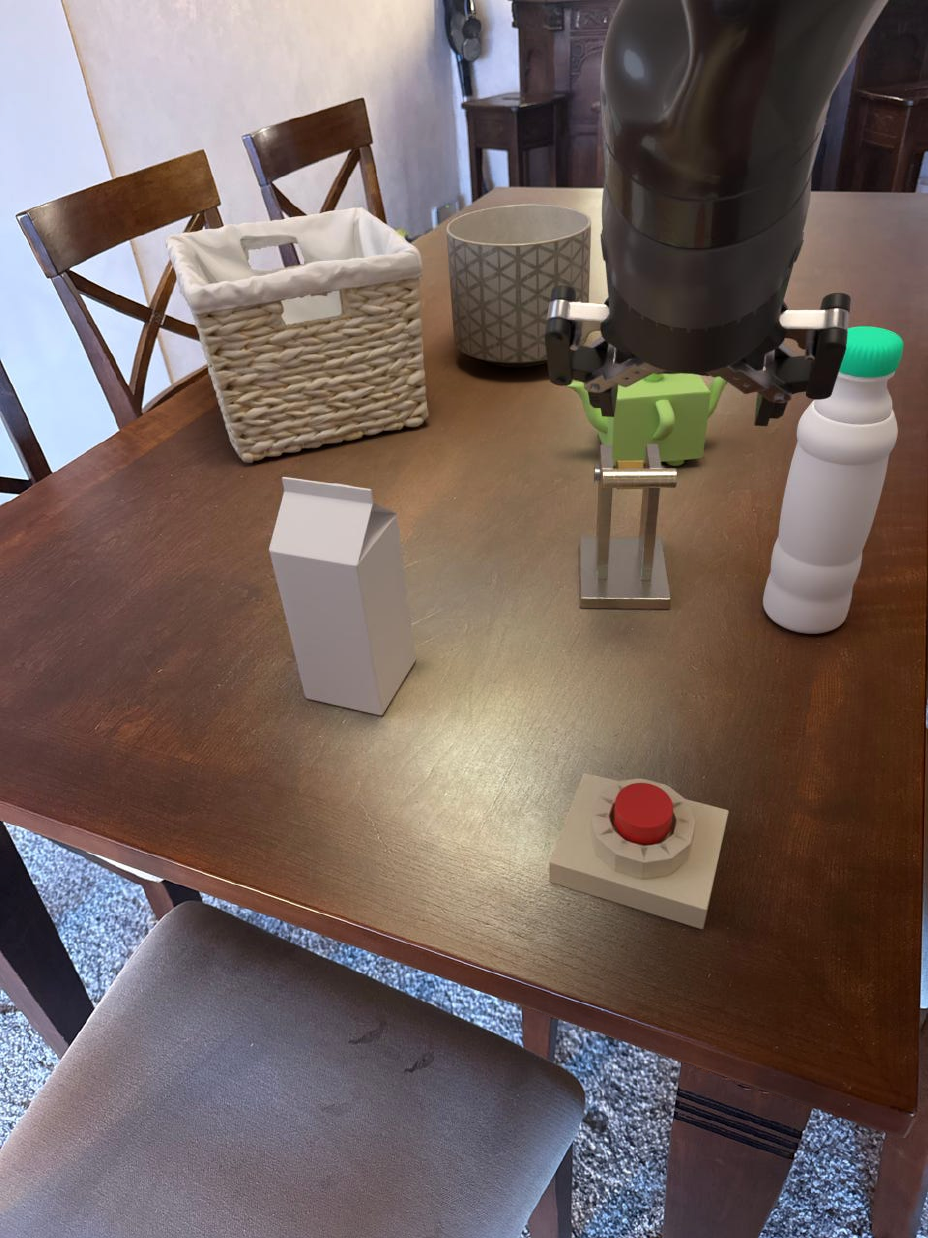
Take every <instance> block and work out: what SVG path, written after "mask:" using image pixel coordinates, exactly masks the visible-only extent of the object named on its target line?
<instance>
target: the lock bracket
mask: <svg viewBox="0 0 928 1238" xmlns="http://www.w3.org/2000/svg"><path fill="white" fill-rule="evenodd" d="M603 469H614V466H613V456H612V445H603V444H600V445H599V465H598V466H594V468H593V483H594V484H598V485H597V488H598V489H597V509H596V510H597V512H596V530H595V531H596V535H595V536H580V537H579V542H578V544H579V545H578V550H579V553H578V555H579V557H578V558H579V600H580V601H579V607H580V609H613V610H615V609H617V610H618V609H621V610H623V609H624V610H627V609H628V610H629V609H630V610H670V609H671V601H672V599H671V598H672V597H671V592H670V585H669V584H670V583H669V579H668V578H669V577H668V571H667V563H666V557H665V552H664V551H665V550H664V544H663V538H662V536H656V535H657V526H658V525H657V524H658V516H659V504H660V494H661V488H643V489H642V493H641V494H642V495H641V505H640V507H641V508H640V517H639V518H640V519H639V530H638V536H611V526H612V525H611V521H612V505H613V488H602V470H603ZM643 469H666V466H664V465H662V462H661V460H660V454H659V448H658V444H647V445H646V455H645V463H644V467H643Z"/></svg>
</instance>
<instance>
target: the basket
mask: <svg viewBox="0 0 928 1238" xmlns="http://www.w3.org/2000/svg"><path fill="white" fill-rule="evenodd" d="M286 244H287V245H288V244H297V245H298V247H299V250H300V253H301V255H302V257H303V259H304V261H303V262H304V263H301V264H294V265H289V266H287V267H279V268H275V269H274V268H273V269H261V270H260V269H253V268H252V266H251V264H250V263H249V259H250V253H249V251H250V250H251V251H253V250H261V249H265V248H269V247H270V248H271V247H277V246H283V245H286ZM165 247H166V250H167V255H168V259H169V261H170V262H171V264H172V268H173V270H174V273H175V278H176V282H177V285H178V287H179V293H180V295H182V297H183V298H184V300H185V301H186V305H187V306H188V307H189V309H190V312H191V315H192V317H193V321H194V326H195V328H196V329H197V334H198V335H199V341H200V344H201V349H202V351H203V355H204V358H205V361H206V365H207V371H208V375H209V376H210V379H211V382H212V386H213V389H214V391H215V396H216V399H217V402H218V406H219V408H220V413H221V414H222V418H223V421H224V426H225V429H226V431H227V434H228V437H229V442H230V444H231V446H232V447H233V448H234V451H235V453H236V454H237V455H238V457H239V458H240V460H242V461H243V463H246V464H252V463H253V462H257V461H260V460H263V459H264V458H265V457H280V456H281V455H282V454H283V453H298V452H301V451H302V449H318V448H320V447H321V446H322V445H325V444H338V443H342V442H343V441H347V442H348V441H354V440H357V439H361V438H362V437H363V436H364V435H365V436H372V435H377V434H379V433H382V432H383V431H384V432H387V431H396V430H397V431H400V430H402V429H403V428H404V426H405V427H406V428H416V427H419V426H421V425H423V424H424V422H425V421H426V420H427V418H429V417H430V412H429V408H428V401H427V388H426V385H425V384H426V379H425V378H426V371H425V369H424V367H425V361H424V360H425V356H424V342H423V337H422V336H421V335H422V334H423V322H422V318H421V315H422V311H421V306H422V305H421V304H422V303H421V290H420V283H421V282H420V278H421V277H423V261H422V256H421V252H420V251H419V250H418V248H417V247H416V246H415V245H413V244H411V243H410V242H409V241H407V240H406V238H405V237H404V236H403V235H401V234H399V233H398V232H397V231H396V229H394V228H392V227H391V226H389V224H387V223H385V222H383V221H382V220H381V219H380V218H378V217H377V216H375V215H373V214H372V213H371V212H370V211H369V210H366V209H365V207H363V206H358V207H357V206H355V207H354V206H353V207H349V208H345V209H344V208H343V209H334V210H327V211H324V212H323V211H322V212H320V213H311V214H307V215H300V216H299V215H297V216H292V217H286V218H284V219H273V220H269V221H267V220H266V221H264V220H263V221H261V220H259V221H254V222H247V221H246V222H240V223H237V224H234V223H230V224H229V223H228V224H225V225H223V226H221V227H218V228H206V229H200V230H198V231H190V232H182V233H179V234H178V233H175V234H173V233H172V234H170V235H168V236H167V237H166V239H165Z"/></svg>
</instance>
